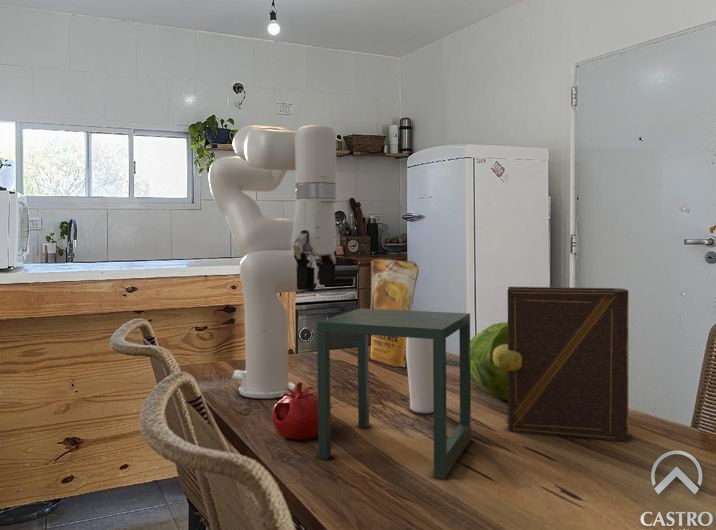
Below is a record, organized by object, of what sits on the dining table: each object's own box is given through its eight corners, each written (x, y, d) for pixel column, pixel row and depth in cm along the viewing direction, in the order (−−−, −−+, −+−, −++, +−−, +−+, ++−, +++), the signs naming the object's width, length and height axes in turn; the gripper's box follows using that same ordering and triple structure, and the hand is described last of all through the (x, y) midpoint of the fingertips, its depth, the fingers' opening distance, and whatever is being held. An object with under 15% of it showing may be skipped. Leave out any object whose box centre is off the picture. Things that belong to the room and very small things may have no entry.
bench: (318, 458, 94) (316, 321, 93) (361, 424, 110) (360, 308, 109) (444, 479, 85) (443, 329, 85) (470, 439, 101) (470, 313, 101)
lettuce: (480, 410, 139) (514, 353, 144) (545, 421, 117) (582, 354, 122) (427, 366, 137) (463, 310, 142) (483, 370, 115) (523, 303, 120)
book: (623, 428, 106) (623, 287, 105) (631, 444, 98) (631, 292, 97) (494, 417, 113) (493, 285, 113) (492, 431, 105) (491, 290, 105)
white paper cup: (441, 416, 114) (440, 338, 114) (405, 414, 116) (404, 337, 115) (441, 406, 121) (440, 332, 120) (407, 404, 122) (406, 331, 122)
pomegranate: (327, 424, 111) (326, 374, 110) (329, 443, 101) (328, 388, 100) (273, 425, 110) (273, 375, 110) (270, 444, 100) (269, 389, 100)
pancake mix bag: (381, 354, 173) (380, 258, 173) (421, 367, 157) (420, 260, 156) (361, 357, 170) (360, 259, 169) (400, 370, 153) (399, 261, 153)
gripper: (316, 197, 119) (317, 282, 120) (275, 192, 103) (277, 291, 104) (351, 196, 116) (352, 283, 117) (315, 191, 100) (316, 292, 101)
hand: (316, 287), depth 110 cm, fingers open, 9 cm apart
